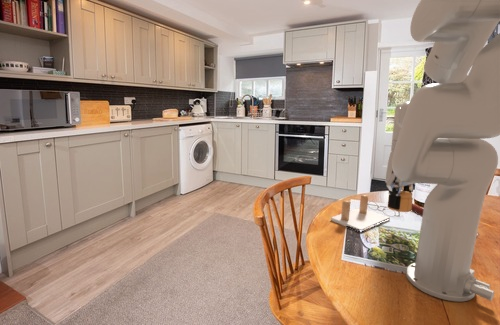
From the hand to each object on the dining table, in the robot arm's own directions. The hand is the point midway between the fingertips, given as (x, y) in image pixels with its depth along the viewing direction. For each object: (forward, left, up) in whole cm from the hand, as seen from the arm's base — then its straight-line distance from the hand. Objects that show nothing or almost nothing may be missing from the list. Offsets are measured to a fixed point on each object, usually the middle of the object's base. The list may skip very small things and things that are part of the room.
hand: (399, 205), depth 88 cm
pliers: (0, -20, -8) cm, 22 cm away
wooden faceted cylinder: (0, 0, -1) cm, 1 cm away
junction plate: (+10, +3, -8) cm, 13 cm away
